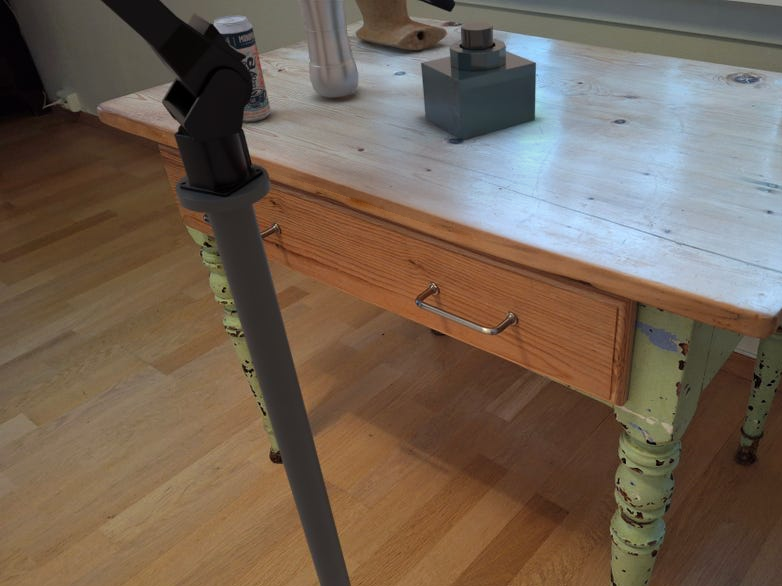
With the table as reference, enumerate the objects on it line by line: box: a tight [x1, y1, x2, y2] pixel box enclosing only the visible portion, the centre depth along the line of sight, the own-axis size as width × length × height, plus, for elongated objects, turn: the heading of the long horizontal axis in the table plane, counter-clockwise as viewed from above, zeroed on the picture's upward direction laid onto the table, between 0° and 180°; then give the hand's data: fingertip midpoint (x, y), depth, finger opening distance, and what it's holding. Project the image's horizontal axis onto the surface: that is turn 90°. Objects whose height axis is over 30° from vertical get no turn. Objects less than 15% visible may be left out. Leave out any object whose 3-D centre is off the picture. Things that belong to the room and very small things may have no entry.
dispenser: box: [420, 38, 537, 141], centre depth 87 cm, size 11×9×9 cm
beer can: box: [213, 14, 272, 123], centre depth 89 cm, size 5×5×12 cm
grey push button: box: [460, 21, 494, 51], centre depth 84 cm, size 4×4×3 cm
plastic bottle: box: [297, 0, 359, 98], centre depth 93 cm, size 6×7×20 cm
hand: (451, 7), depth 80 cm, fingers closed
